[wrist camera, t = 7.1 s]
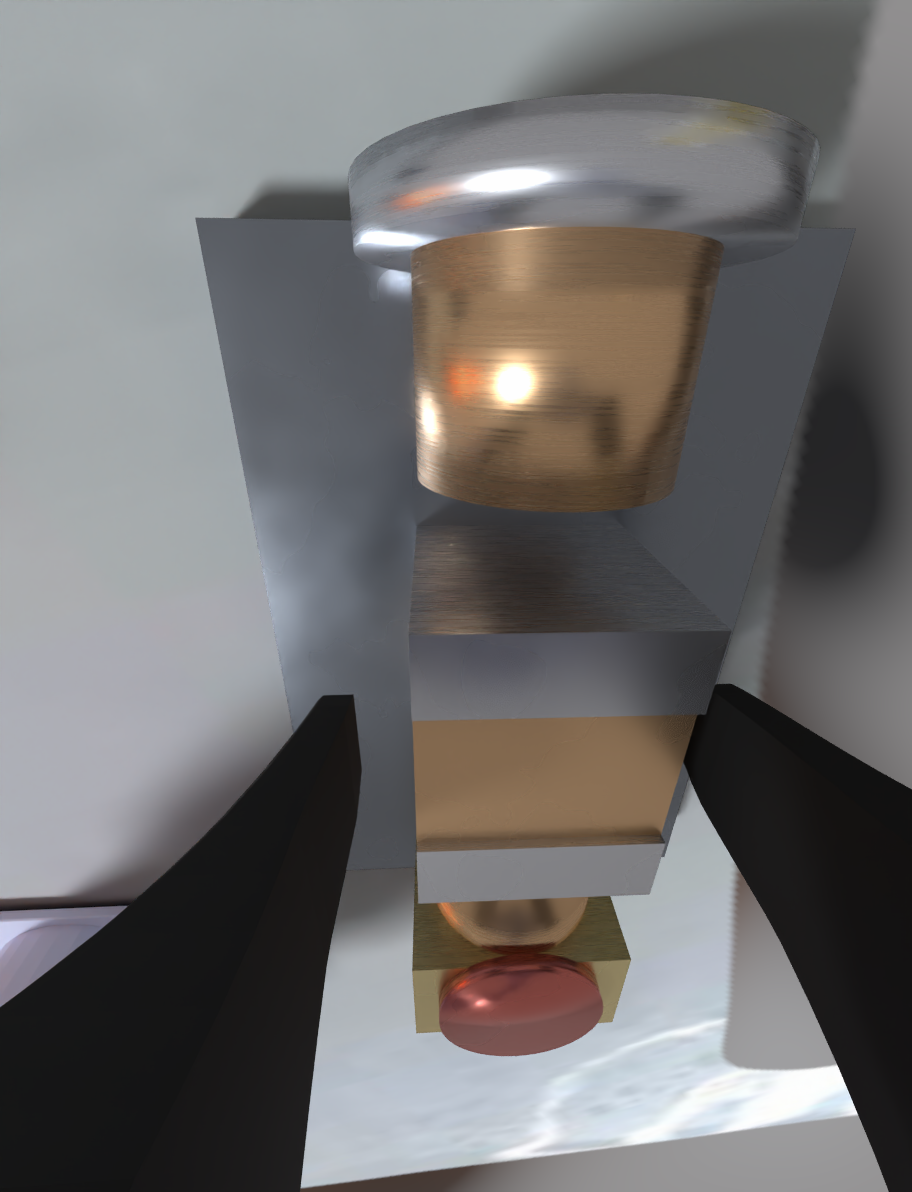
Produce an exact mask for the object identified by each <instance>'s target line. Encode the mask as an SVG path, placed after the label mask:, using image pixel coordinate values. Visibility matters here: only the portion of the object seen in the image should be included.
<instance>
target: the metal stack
mask: <svg viewBox="0 0 912 1192" xmlns="http://www.w3.org/2000/svg"><path fill="white" fill-rule="evenodd" d="M819 153H820V145H819V143H818V140H817V138H816V136H815V135H814V134H813V133H812V132H811V131H810V130H809V129H808V128H807V127H805V126H804V125H802V124H800V123H798V122H796V121H795V120H793V119H791V118H789V117H787V116H784V115H781V114H778V113H776V112H773V111H770V110H767V109H764V108H760V107H756V106H751V105H747V104H742V103H738V102H733V101H727V100H719V99H712V98H704V97H697V96H684V95H668V94H651V93H605V94H588V95H571V96H556V97H547V98H539V99H530V100H521V101H513V102H508V103H502V104H496V105H491V106H485V107H479V108H474V109H469V110H465V111H461V112H457V113H453V114H449V115H445V116H441V117H437V118H434V119H431V120H428V121H425V122H422V123H419V124H416V125H413V126H410V127H407V128H405V129H402V130H400V131H398V132H396V133H393V134H391V135H389V136H386V137H384V138H383V139H381V140H379V141H378V142H376V143H374V144H373V145H371V146H369V147H368V148H366V149H365V150H364V151H363V152H362V153H361V154H360V155H359V156H357V157H356V159H355V160H354V162H353V163H352V165H351V166H350V169H349V174H348V183H349V197H350V210H351V220H299V219H238V218H196V224H197V229H198V234H199V239H200V245H201V250H202V255H203V260H204V266H205V271H206V276H207V281H208V287H209V292H210V297H211V302H212V308H213V313H214V318H215V323H216V329H217V334H218V339H219V344H220V350H221V355H222V360H223V365H224V370H225V376H226V381H227V386H228V391H229V397H230V402H231V407H232V412H233V418H234V423H235V428H236V433H237V439H238V444H239V449H240V454H241V460H242V465H243V470H244V475H245V481H246V486H247V491H248V496H249V502H250V507H251V512H252V517H253V523H254V528H255V533H256V538H257V544H258V549H259V554H260V559H261V565H262V570H263V575H264V580H265V586H266V591H267V596H268V601H269V607H270V612H271V617H272V622H273V628H274V633H275V638H276V643H277V649H278V654H279V659H280V664H281V670H282V675H283V680H284V685H285V691H286V696H287V701H288V706H289V712H290V717H291V722H292V727H293V733H294V732H295V731H296V729H297V728H298V727H299V725H300V724H301V723H302V721H303V720H304V719H305V717H306V716H307V715H308V713H309V712H310V710H311V709H312V708H313V706H314V705H315V704H316V702H317V701H318V700H319V699H320V698H321V697H322V696H323V695H352V694H354V703H355V712H356V721H357V730H358V739H359V748H360V757H361V766H362V774H361V784H360V795H359V804H358V813H357V821H356V825H355V830H354V835H353V840H352V845H351V849H350V854H349V859H348V864H347V868H346V870H361V869H385V868H409V867H415V896H414V932H413V968H412V972H413V987H414V1003H415V1018H416V1033H428V1032H442V1033H443V1034H444V1036H445V1037H446V1038H447V1039H448V1040H449V1041H450V1042H452V1043H453V1044H455V1045H457V1046H459V1047H461V1048H463V1049H466V1050H468V1051H472V1052H476V1053H480V1054H486V1055H494V1056H520V1055H529V1054H536V1053H541V1052H545V1051H549V1050H553V1049H556V1048H559V1047H562V1046H564V1045H567V1044H569V1043H571V1042H573V1041H575V1040H577V1039H579V1038H581V1037H582V1036H584V1035H585V1034H587V1033H588V1032H589V1031H590V1030H591V1029H593V1027H594V1026H595V1025H596V1024H597V1023H605V1022H612V1021H613V1018H614V1014H615V1011H616V1008H617V1004H618V1001H619V998H620V994H621V991H622V988H623V985H624V981H625V978H626V975H627V971H628V968H629V965H630V961H631V958H630V955H629V952H628V949H627V946H626V943H625V940H624V937H623V934H622V931H621V928H620V925H619V922H618V919H617V916H616V912H615V909H614V906H613V903H612V900H611V897H610V896H596V897H571V898H546V899H521V900H497V901H472V902H447V903H422V904H418V878H417V834H416V807H415V779H414V751H413V723H412V715H411V688H410V661H409V622H410V608H411V594H412V581H413V567H414V553H415V539H416V526H462V525H621V526H622V527H624V528H625V529H626V530H627V531H628V532H629V533H630V534H631V535H632V536H633V537H634V538H635V539H636V540H637V541H638V542H639V543H640V544H641V545H642V546H644V547H645V548H646V549H647V550H648V551H649V552H650V553H651V554H652V555H653V556H654V557H655V558H656V559H657V560H658V561H659V562H660V563H661V564H662V565H664V566H665V567H666V568H667V569H668V570H669V571H670V572H671V573H672V574H673V575H674V576H675V577H676V578H677V579H678V580H679V581H680V582H681V583H682V584H684V585H685V586H686V587H687V588H688V589H689V590H690V591H691V592H692V593H693V594H694V595H695V596H696V597H697V598H698V599H699V600H700V601H701V602H702V603H704V604H705V605H706V606H707V607H708V608H709V609H710V610H711V611H712V612H713V613H714V614H715V615H716V616H717V617H718V618H719V619H720V620H721V621H722V622H724V623H725V624H726V625H727V626H728V627H729V628H730V629H731V630H732V632H731V635H730V638H729V642H728V645H727V648H726V651H725V654H724V658H723V661H722V664H721V667H720V670H719V674H718V677H717V680H716V683H715V684H717V682H718V679H719V676H720V672H721V669H722V666H723V663H724V659H725V656H726V653H727V649H728V646H729V643H730V640H731V636H732V633H733V630H734V626H735V623H736V620H737V617H738V613H739V610H740V607H741V604H742V600H743V597H744V594H745V590H746V587H747V584H748V581H749V577H750V574H751V571H752V567H753V564H754V561H755V558H756V554H757V551H758V548H759V545H760V541H761V538H762V535H763V531H764V528H765V525H766V522H767V518H768V515H769V512H770V508H771V505H772V502H773V499H774V495H775V492H776V489H777V486H778V482H779V479H780V476H781V472H782V469H783V466H784V463H785V459H786V456H787V453H788V449H789V446H790V443H791V440H792V436H793V433H794V430H795V427H796V423H797V420H798V417H799V413H800V410H801V407H802V404H803V400H804V397H805V394H806V390H807V387H808V384H809V381H810V377H811V374H812V371H813V368H814V364H815V361H816V358H817V354H818V351H819V348H820V345H821V341H822V338H823V335H824V332H825V328H826V325H827V322H828V318H829V315H830V312H831V309H832V305H833V302H834V299H835V295H836V292H837V289H838V286H839V282H840V279H841V276H842V273H843V269H844V266H845V263H846V259H847V256H848V253H849V250H850V246H851V243H852V240H853V236H854V233H855V229H842V228H800V227H801V223H802V220H803V216H804V212H805V208H806V204H807V201H808V197H809V193H810V189H811V185H812V182H813V178H814V174H815V170H816V166H817V163H818V159H819ZM688 777H689V775H688V772H687V770H686V768H685V765H684V763H683V764H682V767H681V770H680V774H679V777H678V780H677V784H676V787H675V790H674V793H673V797H672V800H671V803H670V807H669V810H668V813H667V817H666V820H665V823H664V827H663V830H662V833H661V835H662V837H663V839H664V841H665V847H664V850H663V853H662V856H661V857H664V856H665V853H666V849H667V846H668V843H669V840H670V836H671V833H672V830H673V826H674V823H675V820H676V817H677V813H678V810H679V807H680V803H681V800H682V797H683V794H684V790H685V787H686V784H687V781H688Z"/></svg>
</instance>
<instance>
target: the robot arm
mask: <svg viewBox="0 0 912 1192" xmlns="http://www.w3.org/2000/svg"><path fill="white" fill-rule="evenodd" d="M683 763H684V765H685V768H686V770H687V772H688V775H689V777H690V780H691V782H692V785H693V787H694V789H695V791H696V794H697V796H698V798H699V800H700V803H701V805H702V807H703V808H704V810H705V812H706V814H707V815H708V817H709V819H710V821H711V822H712V824H713V826H714V828H715V829H716V831H717V833H718V835H719V836H720V838H721V840H722V841H723V843H724V845H725V847H726V848H727V850H728V852H729V853H730V855H731V857H732V858H733V860H734V862H735V863H736V865H737V867H738V869H739V870H740V872H741V874H742V875H743V877H744V879H745V880H746V882H747V884H748V885H749V887H750V889H751V891H752V892H753V894H754V896H755V897H756V899H757V901H758V902H759V904H760V906H761V907H762V909H763V911H764V913H765V914H766V916H767V918H768V920H769V921H770V923H771V925H772V927H773V929H774V931H775V933H776V935H777V936H778V938H779V940H780V942H781V944H782V946H783V948H784V950H785V952H786V954H787V956H788V959H789V960H790V963H791V965H792V967H793V969H794V971H795V973H796V975H797V977H798V979H799V982H800V984H801V986H802V988H803V990H804V992H805V994H806V996H807V998H808V1000H809V1003H810V1005H811V1007H812V1009H813V1011H814V1014H815V1016H816V1018H817V1020H818V1023H819V1025H820V1027H821V1029H822V1032H823V1034H824V1036H825V1038H826V1041H827V1043H828V1045H829V1047H830V1049H831V1052H832V1054H833V1056H834V1058H835V1061H836V1063H837V1065H838V1067H839V1070H840V1072H841V1074H842V1077H843V1079H844V1082H845V1084H846V1086H847V1089H848V1091H849V1094H850V1096H851V1099H852V1101H853V1103H854V1106H855V1108H856V1111H857V1113H858V1115H859V1118H860V1120H861V1122H862V1125H863V1127H864V1130H865V1132H866V1135H867V1137H868V1139H869V1142H870V1144H871V1147H872V1149H873V1152H874V1154H875V1157H876V1159H877V1162H878V1164H879V1167H880V1170H881V1172H882V1175H883V1178H884V1180H885V1183H886V1185H887V1188H888V1191H889V1192H912V789H910V788H908V787H906V786H905V785H903V784H901V783H899V782H897V781H895V780H894V779H892V778H890V777H888V776H887V775H884V774H883V773H881V772H879V771H877V770H876V769H874V768H872V767H870V766H869V765H867V764H865V763H864V762H862V761H860V760H859V759H857V758H855V757H854V756H852V755H850V754H848V753H847V752H845V751H843V750H842V749H840V748H838V747H837V746H835V745H833V744H832V743H830V742H828V741H827V740H825V739H823V738H822V737H820V736H818V735H817V734H815V733H814V732H812V731H810V730H809V729H807V728H805V727H804V726H802V725H801V724H799V723H797V722H796V721H794V720H792V719H791V718H789V717H788V716H786V715H784V714H783V713H781V712H779V711H778V710H776V709H774V708H773V707H771V706H770V705H768V704H766V703H765V702H763V701H761V700H760V699H758V698H756V697H754V696H753V695H751V694H749V693H747V692H746V691H744V690H742V689H740V688H738V687H736V686H734V685H732V684H715V686H714V690H713V693H712V696H711V699H710V702H709V706H708V709H707V712H706V714H699V715H697V717H696V721H695V724H694V727H693V731H692V734H691V737H690V741H689V744H688V747H687V750H686V754H685V757H684V760H683ZM361 774H362V766H361V757H360V748H359V739H358V730H357V721H356V712H355V703H354V694H352V695H323V696H322V697H321V698H320V699H319V700H318V701H317V702H316V704H315V705H314V706H313V708H312V709H311V710H310V712H309V713H308V715H307V716H306V717H305V719H304V720H303V721H302V723H301V724H300V725H299V727H298V728H297V729H296V731H295V732H294V733H293V735H292V736H291V737H290V739H289V740H288V741H287V742H286V744H285V745H284V746H283V747H282V749H281V750H280V751H279V752H278V754H277V755H276V756H275V757H274V758H273V760H272V761H271V762H270V763H269V765H268V766H267V767H266V768H265V770H264V771H263V772H262V773H261V774H260V776H259V777H258V778H257V779H256V780H255V781H254V783H253V784H252V785H251V786H250V787H249V788H248V789H247V790H246V791H245V792H244V794H243V795H242V796H241V797H240V798H239V799H238V800H237V801H236V802H235V804H234V805H233V806H232V807H231V808H230V809H229V810H228V811H227V812H226V814H225V815H224V816H223V817H222V818H221V819H220V820H219V821H218V822H217V823H216V824H215V825H214V826H213V827H212V828H211V829H210V830H209V831H208V832H207V833H206V834H205V835H204V836H203V837H202V838H201V839H200V840H199V841H198V842H197V843H196V844H195V845H194V846H193V847H192V848H191V849H190V850H189V851H188V852H187V853H186V854H185V855H184V856H183V857H182V858H181V859H180V860H179V861H178V862H177V863H176V864H175V865H173V866H172V867H171V868H170V869H169V870H168V871H167V872H166V873H165V874H164V875H162V876H161V877H160V878H159V879H158V880H157V881H156V882H155V883H154V884H152V885H151V886H150V887H149V888H148V889H147V890H146V891H145V892H143V893H142V894H141V895H140V896H139V897H138V898H137V899H136V900H134V901H133V902H132V903H131V904H130V905H129V906H108V907H86V908H63V909H40V910H17V911H0V1192H300V1187H301V1178H302V1169H303V1159H304V1150H305V1141H306V1132H307V1123H308V1113H309V1104H310V1096H311V1088H312V1079H313V1071H314V1062H315V1054H316V1046H317V1037H318V1029H319V1021H320V1013H321V1006H322V998H323V990H324V982H325V974H326V967H327V961H328V955H329V950H330V944H331V938H332V933H333V929H334V924H335V919H336V915H337V910H338V905H339V901H340V896H341V891H342V887H343V882H344V878H345V873H346V868H347V864H348V859H349V854H350V849H351V845H352V840H353V835H354V830H355V825H356V821H357V813H358V804H359V795H360V784H361Z"/></svg>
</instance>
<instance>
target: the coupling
mask: <svg viewBox="0 0 912 1192" xmlns="http://www.w3.org/2000/svg"><path fill="white" fill-rule="evenodd" d="M731 632H732V630H731V629H730V628H729V627H728V626H727V625H726V624H725V623H724V622H722V621H721V620H720V619H719V618H718V617H717V616H716V615H715V614H714V613H713V612H712V611H711V610H710V609H709V608H708V607H707V606H706V605H705V604H704V603H702V602H701V601H700V600H699V599H698V598H697V597H696V596H695V595H694V594H693V593H692V592H691V591H690V590H689V589H688V588H687V587H686V586H685V585H684V584H682V583H681V582H680V581H679V580H678V579H677V578H676V577H675V576H674V575H673V574H672V573H671V572H670V571H669V570H668V569H667V568H666V567H665V566H664V565H662V564H661V563H660V562H659V561H658V560H657V559H656V558H655V557H654V556H653V555H652V554H651V553H650V552H649V551H648V550H647V549H646V548H645V547H644V546H642V545H641V544H640V543H639V542H638V541H637V540H636V539H635V538H634V537H633V536H632V535H631V534H630V533H629V532H628V531H627V530H626V529H625V528H624V527H622V526H621V525H462V526H416V539H415V553H414V567H413V581H412V594H411V608H410V622H409V661H410V688H411V715H412V723H413V751H414V779H415V807H416V834H417V878H418V904H422V903H447V902H472V901H497V900H521V899H546V898H571V897H596V896H620V895H645V894H650V891H651V888H652V885H653V882H654V879H655V875H656V872H657V869H658V866H659V863H660V859H661V856H662V853H663V850H664V847H665V841H664V839H663V837H662V835H661V833H662V830H663V827H664V823H665V820H666V817H667V813H668V810H669V807H670V803H671V800H672V797H673V793H674V790H675V787H676V784H677V780H678V777H679V774H680V770H681V767H682V764H683V760H684V757H685V754H686V750H687V747H688V744H689V741H690V737H691V734H692V731H693V727H694V724H695V721H696V717H697V715H699V714H706V712H707V709H708V706H709V702H710V699H711V696H712V693H713V690H714V686H715V683H716V680H717V677H718V674H719V670H720V667H721V664H722V661H723V658H724V654H725V651H726V648H727V645H728V642H729V638H730V635H731Z"/></svg>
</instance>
